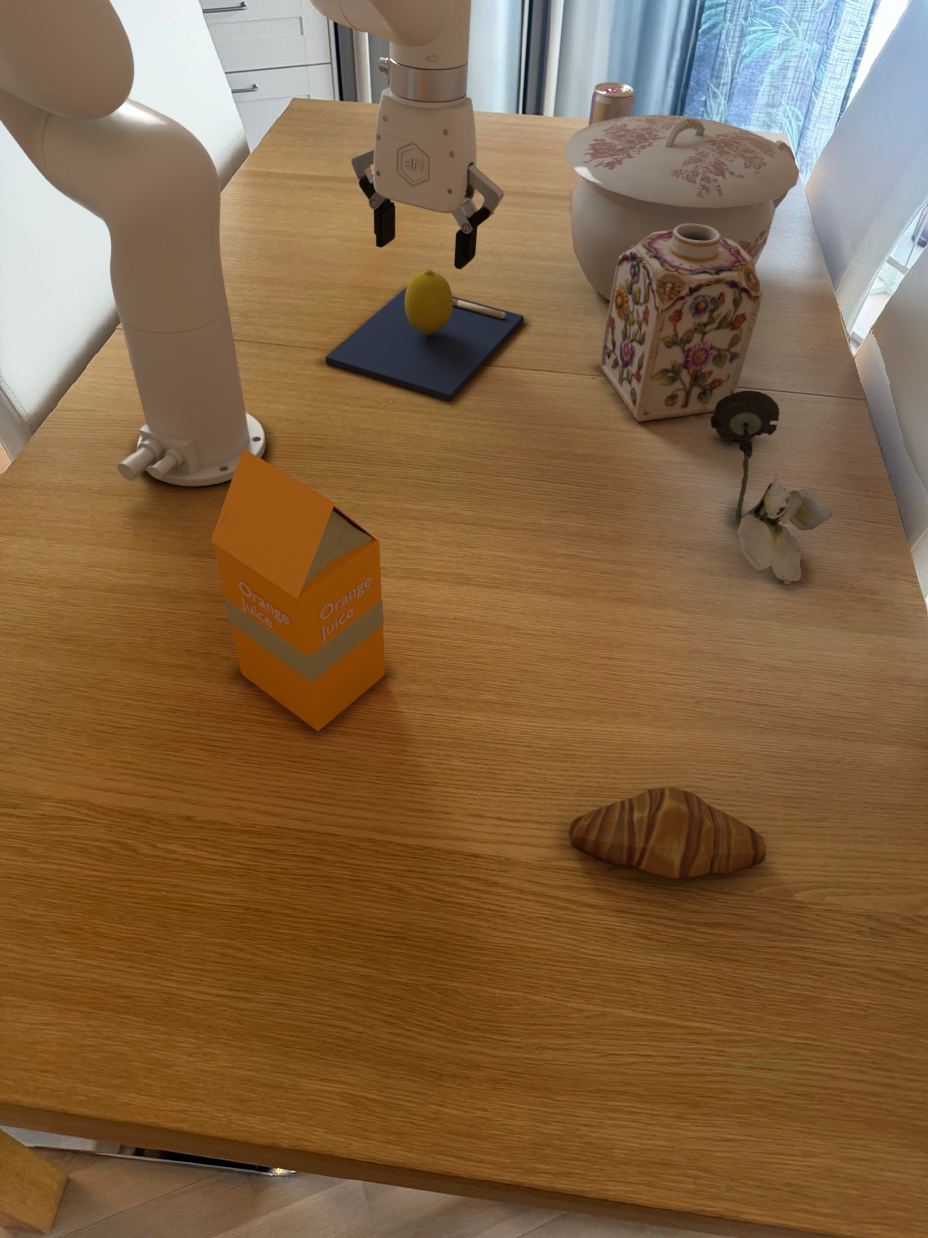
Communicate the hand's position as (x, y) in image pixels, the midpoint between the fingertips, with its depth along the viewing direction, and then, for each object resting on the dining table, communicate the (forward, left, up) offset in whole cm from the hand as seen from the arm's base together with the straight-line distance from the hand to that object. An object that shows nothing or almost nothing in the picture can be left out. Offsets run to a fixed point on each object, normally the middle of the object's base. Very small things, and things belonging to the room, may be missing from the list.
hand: (423, 253), depth 102 cm
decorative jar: (+5, -28, -11) cm, 31 cm away
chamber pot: (+27, -20, -11) cm, 35 cm away
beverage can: (+51, -3, -11) cm, 52 cm away
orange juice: (-49, -16, -11) cm, 53 cm away
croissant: (-51, -46, -11) cm, 70 cm away
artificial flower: (-11, -43, -11) cm, 46 cm away
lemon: (+1, 0, -10) cm, 10 cm away
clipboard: (+1, 0, -11) cm, 11 cm away
